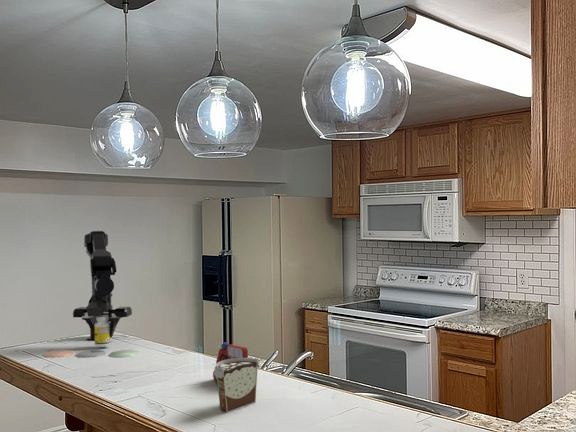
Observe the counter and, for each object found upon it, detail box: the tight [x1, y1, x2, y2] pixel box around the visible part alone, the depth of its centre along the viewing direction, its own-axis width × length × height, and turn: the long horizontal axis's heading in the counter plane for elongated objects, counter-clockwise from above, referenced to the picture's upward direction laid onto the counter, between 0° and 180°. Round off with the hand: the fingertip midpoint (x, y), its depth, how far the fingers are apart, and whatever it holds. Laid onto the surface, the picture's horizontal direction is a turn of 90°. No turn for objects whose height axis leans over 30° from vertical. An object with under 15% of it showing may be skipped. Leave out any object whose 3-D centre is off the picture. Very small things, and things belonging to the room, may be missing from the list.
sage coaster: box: [109, 349, 140, 359], centre depth 193 cm, size 9×9×1 cm
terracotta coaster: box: [43, 349, 74, 359], centre depth 194 cm, size 9×9×1 cm
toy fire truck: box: [212, 342, 249, 385], centre depth 156 cm, size 7×12×10 cm, turn 41°
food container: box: [213, 357, 260, 414], centre depth 137 cm, size 12×6×10 cm, turn 141°
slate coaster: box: [76, 349, 107, 359], centre depth 193 cm, size 9×9×1 cm
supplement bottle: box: [94, 315, 112, 347], centre depth 203 cm, size 5×5×10 cm
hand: (102, 337), depth 203 cm, fingers closed on supplement bottle, 5 cm apart
